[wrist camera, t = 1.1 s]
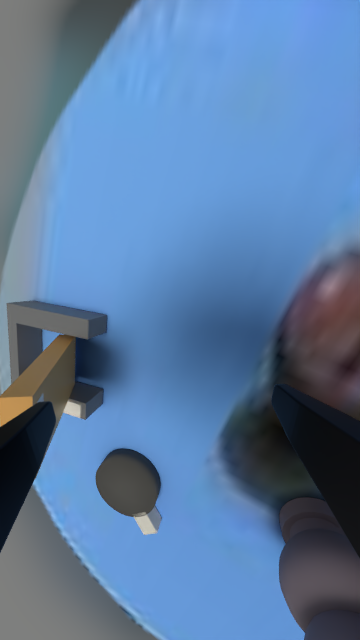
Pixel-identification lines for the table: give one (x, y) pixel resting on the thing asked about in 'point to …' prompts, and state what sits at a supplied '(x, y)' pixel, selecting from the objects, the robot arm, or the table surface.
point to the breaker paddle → (43, 382)
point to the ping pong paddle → (131, 487)
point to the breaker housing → (28, 343)
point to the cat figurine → (319, 571)
